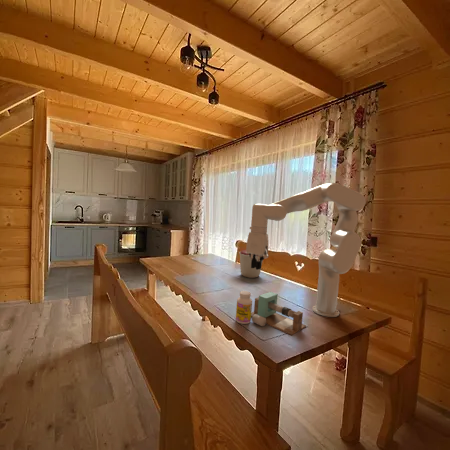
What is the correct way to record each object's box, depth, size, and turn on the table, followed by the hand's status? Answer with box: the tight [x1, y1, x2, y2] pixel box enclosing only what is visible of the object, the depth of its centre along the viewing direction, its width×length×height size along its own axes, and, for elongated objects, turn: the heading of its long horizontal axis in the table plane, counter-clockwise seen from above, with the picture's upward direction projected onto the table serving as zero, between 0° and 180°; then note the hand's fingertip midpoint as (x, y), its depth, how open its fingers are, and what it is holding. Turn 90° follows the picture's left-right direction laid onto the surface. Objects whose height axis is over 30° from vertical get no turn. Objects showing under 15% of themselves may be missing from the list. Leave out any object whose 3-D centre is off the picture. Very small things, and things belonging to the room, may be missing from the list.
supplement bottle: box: [235, 290, 253, 325], centre depth 113 cm, size 7×7×13 cm
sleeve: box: [251, 314, 267, 327], centre depth 112 cm, size 4×5×4 cm
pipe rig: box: [251, 296, 307, 336], centre depth 116 cm, size 12×23×8 cm, turn 45°
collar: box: [258, 291, 279, 318], centre depth 119 cm, size 9×4×9 cm, turn 135°
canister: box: [238, 249, 264, 279], centre depth 185 cm, size 18×18×21 cm
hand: (256, 268), depth 123 cm, fingers closed
